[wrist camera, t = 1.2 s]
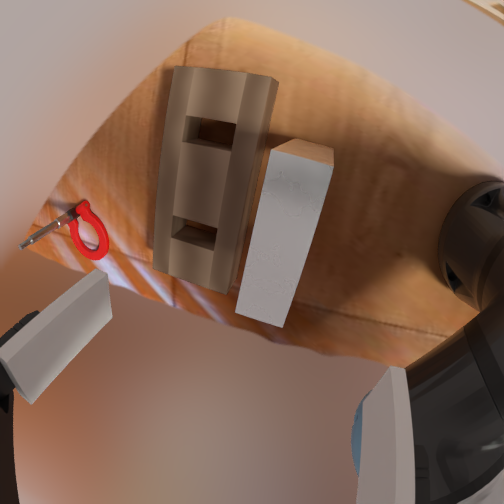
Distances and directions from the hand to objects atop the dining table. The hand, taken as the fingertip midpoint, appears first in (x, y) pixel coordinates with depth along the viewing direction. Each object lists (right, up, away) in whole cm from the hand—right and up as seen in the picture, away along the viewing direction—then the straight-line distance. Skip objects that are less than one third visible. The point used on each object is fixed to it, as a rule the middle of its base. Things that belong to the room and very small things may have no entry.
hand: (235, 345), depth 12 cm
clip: (+6, +10, +20) cm, 23 cm away
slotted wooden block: (-4, +12, +21) cm, 25 cm away
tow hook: (-25, +7, +30) cm, 40 cm away
